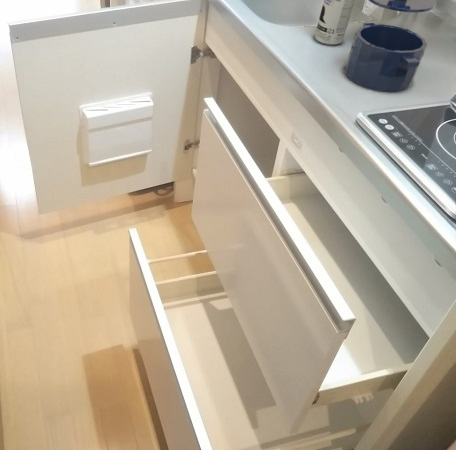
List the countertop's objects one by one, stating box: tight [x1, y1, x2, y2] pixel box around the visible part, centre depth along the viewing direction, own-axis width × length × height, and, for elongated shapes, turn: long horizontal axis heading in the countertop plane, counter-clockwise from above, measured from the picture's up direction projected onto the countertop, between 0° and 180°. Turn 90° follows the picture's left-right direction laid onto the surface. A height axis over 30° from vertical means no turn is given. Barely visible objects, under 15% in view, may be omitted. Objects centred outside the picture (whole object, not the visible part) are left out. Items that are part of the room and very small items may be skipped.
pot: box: [344, 22, 428, 93], centre depth 108 cm, size 14×19×8 cm
